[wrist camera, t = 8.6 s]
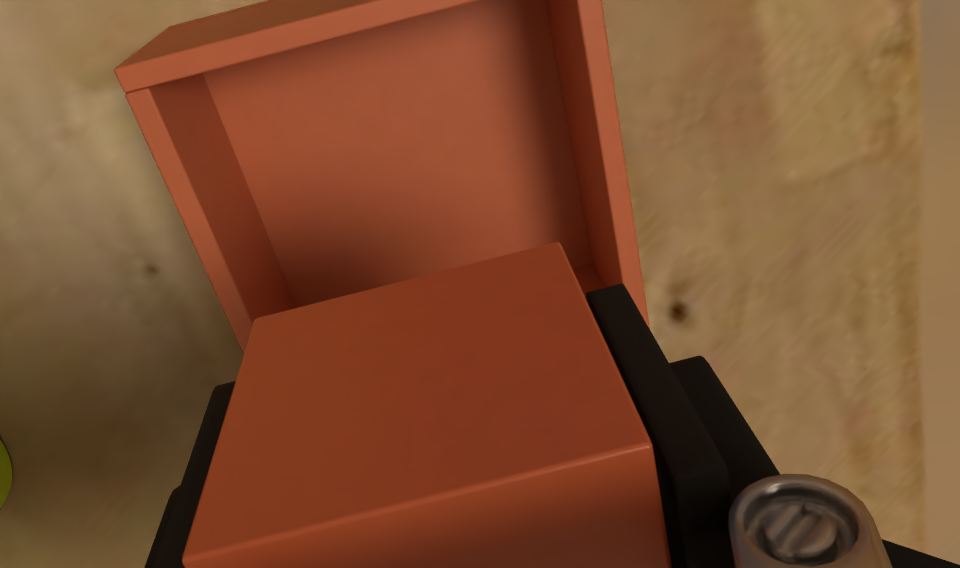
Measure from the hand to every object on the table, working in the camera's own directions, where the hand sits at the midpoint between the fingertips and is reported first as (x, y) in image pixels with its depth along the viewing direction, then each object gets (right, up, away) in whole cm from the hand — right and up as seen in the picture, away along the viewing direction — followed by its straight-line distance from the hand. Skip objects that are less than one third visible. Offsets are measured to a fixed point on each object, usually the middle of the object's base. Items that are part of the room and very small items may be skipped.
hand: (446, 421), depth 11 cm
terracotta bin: (-1, +5, +10) cm, 11 cm away
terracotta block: (0, 0, 0) cm, 1 cm away
